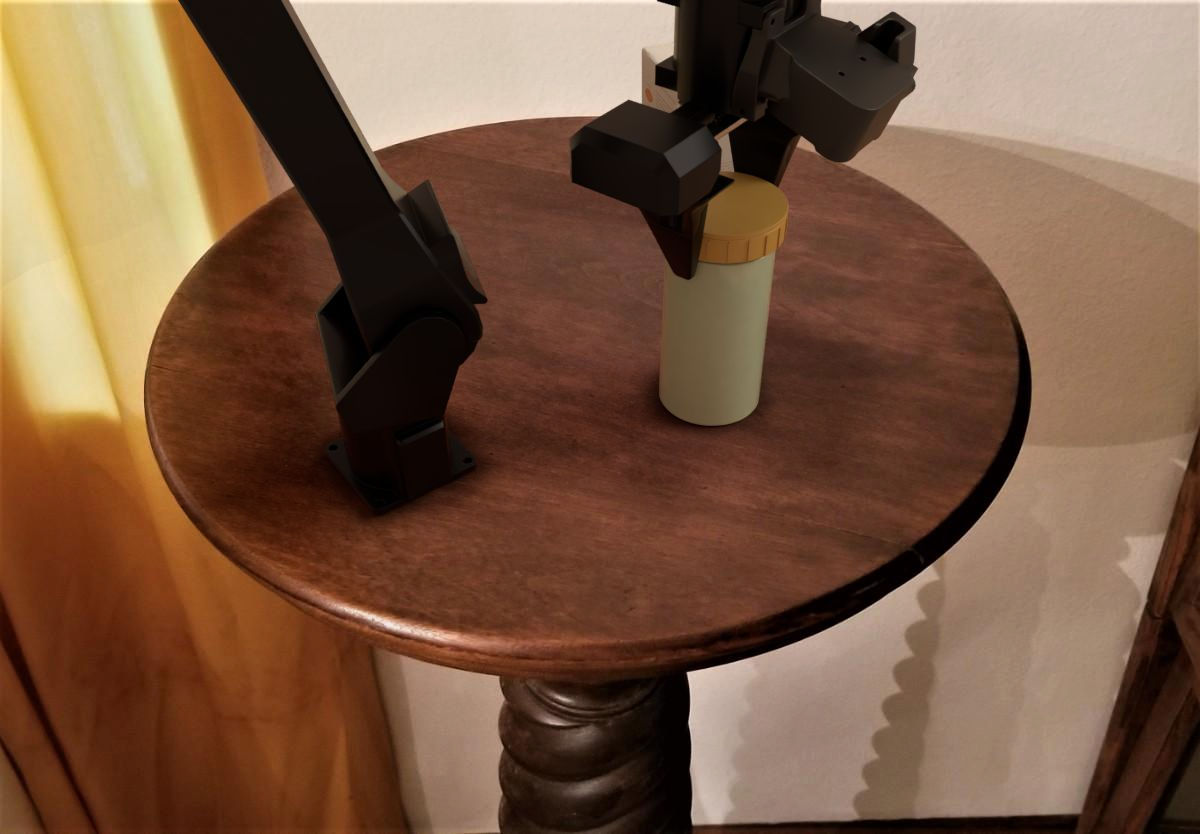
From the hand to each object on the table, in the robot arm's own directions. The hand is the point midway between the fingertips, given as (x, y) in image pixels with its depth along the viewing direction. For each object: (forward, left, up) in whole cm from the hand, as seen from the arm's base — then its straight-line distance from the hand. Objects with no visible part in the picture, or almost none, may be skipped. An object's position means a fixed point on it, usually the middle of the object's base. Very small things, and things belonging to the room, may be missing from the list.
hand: (719, 248), depth 62 cm
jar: (0, 0, -10) cm, 10 cm away
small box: (-19, +14, -10) cm, 26 cm away
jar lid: (0, 0, +3) cm, 3 cm away
